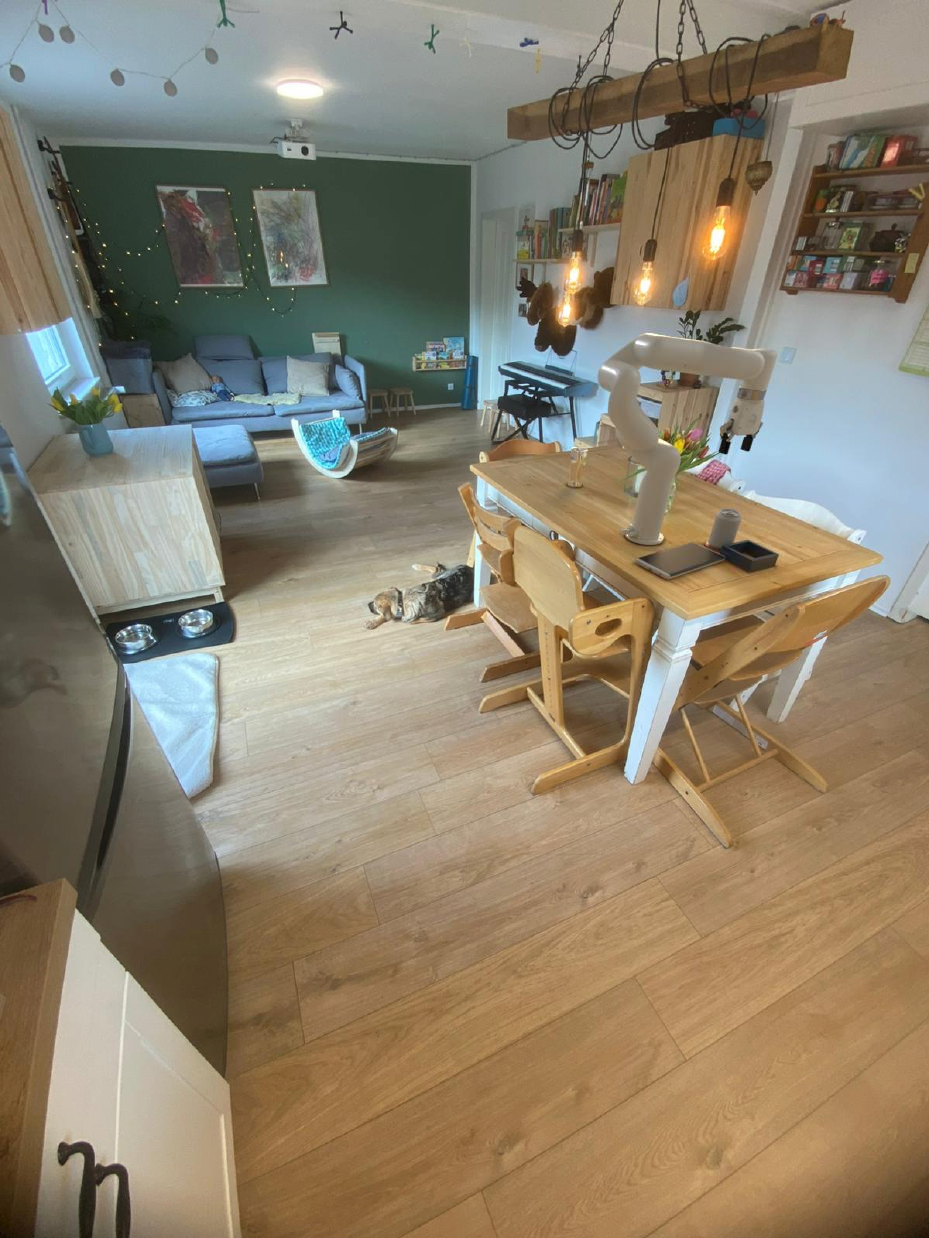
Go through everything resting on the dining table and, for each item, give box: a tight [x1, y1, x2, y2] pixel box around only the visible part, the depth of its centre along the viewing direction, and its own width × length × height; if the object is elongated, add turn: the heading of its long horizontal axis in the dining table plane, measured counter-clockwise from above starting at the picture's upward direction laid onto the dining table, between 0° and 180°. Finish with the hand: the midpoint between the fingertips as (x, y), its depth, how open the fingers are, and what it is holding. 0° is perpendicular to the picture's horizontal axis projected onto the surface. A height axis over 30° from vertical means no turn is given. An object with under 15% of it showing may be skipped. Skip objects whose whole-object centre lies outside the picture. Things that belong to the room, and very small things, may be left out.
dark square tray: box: [719, 539, 780, 573], centre depth 166 cm, size 12×12×4 cm
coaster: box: [704, 541, 721, 553], centre depth 175 cm, size 9×9×1 cm
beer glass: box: [567, 446, 589, 488], centre depth 220 cm, size 7×7×15 cm
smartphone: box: [634, 541, 726, 580], centre depth 165 cm, size 13×27×2 cm, turn 121°
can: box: [707, 508, 742, 549], centre depth 172 cm, size 8×8×12 cm
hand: (733, 452), depth 169 cm, fingers open, 9 cm apart
